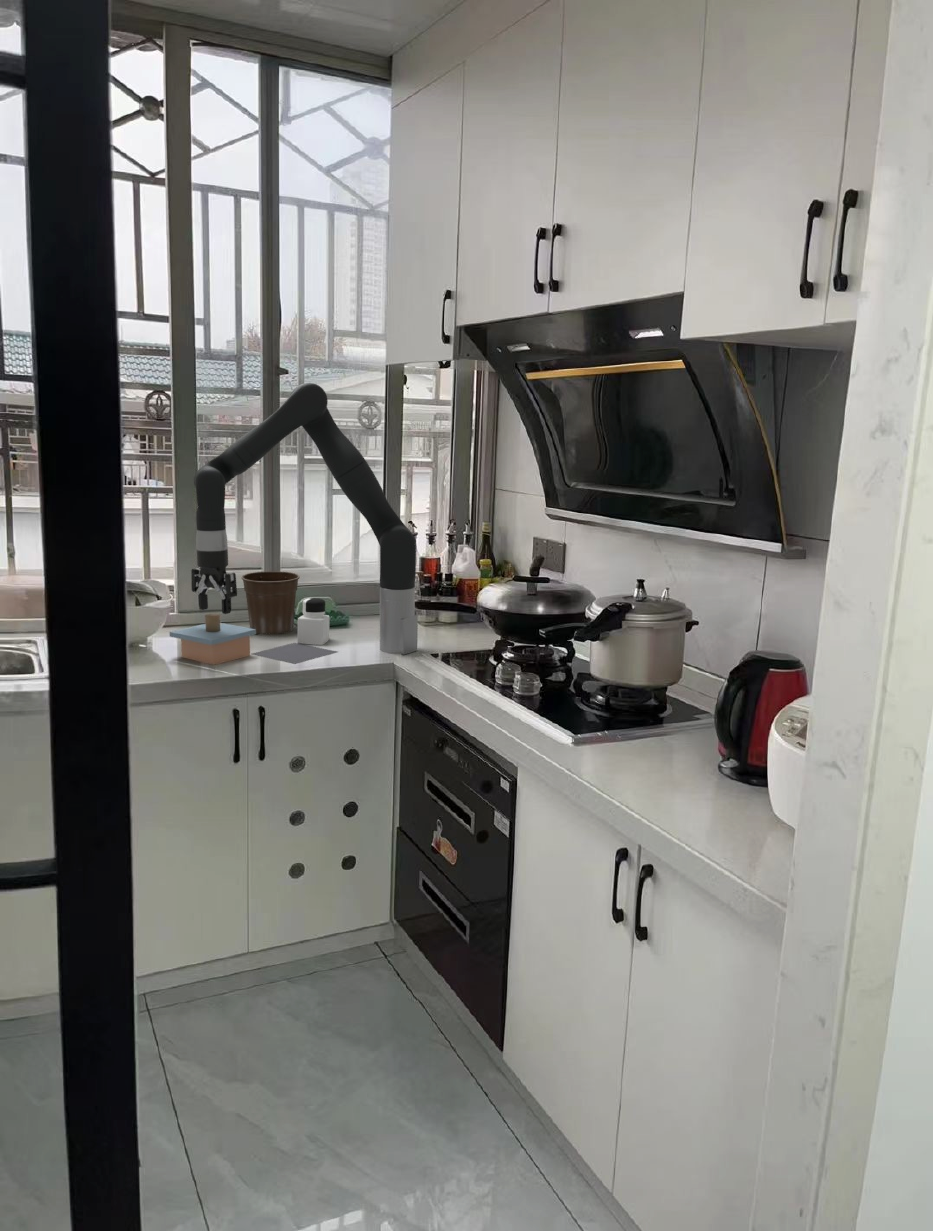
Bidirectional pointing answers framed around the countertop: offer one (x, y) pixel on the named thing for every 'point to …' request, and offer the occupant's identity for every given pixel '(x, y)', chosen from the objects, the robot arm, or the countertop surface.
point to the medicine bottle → (313, 623)
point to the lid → (212, 631)
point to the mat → (294, 653)
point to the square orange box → (216, 650)
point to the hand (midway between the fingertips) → (214, 611)
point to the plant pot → (271, 601)
